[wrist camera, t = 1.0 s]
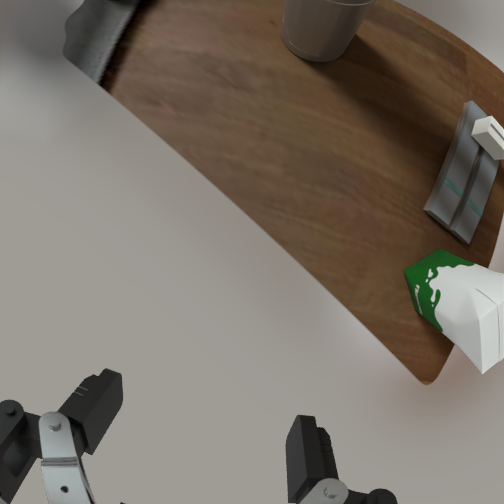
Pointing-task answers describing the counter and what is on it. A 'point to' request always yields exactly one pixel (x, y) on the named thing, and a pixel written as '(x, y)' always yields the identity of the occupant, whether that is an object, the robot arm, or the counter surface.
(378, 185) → the counter surface
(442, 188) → the slider panel
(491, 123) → the slider knob
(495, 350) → the milk carton
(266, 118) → the counter surface
